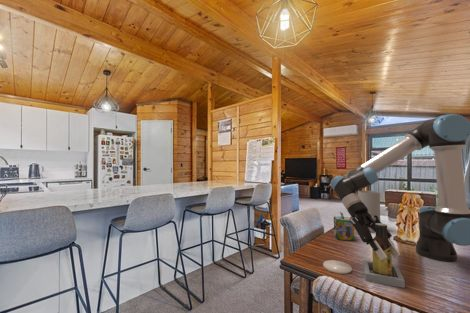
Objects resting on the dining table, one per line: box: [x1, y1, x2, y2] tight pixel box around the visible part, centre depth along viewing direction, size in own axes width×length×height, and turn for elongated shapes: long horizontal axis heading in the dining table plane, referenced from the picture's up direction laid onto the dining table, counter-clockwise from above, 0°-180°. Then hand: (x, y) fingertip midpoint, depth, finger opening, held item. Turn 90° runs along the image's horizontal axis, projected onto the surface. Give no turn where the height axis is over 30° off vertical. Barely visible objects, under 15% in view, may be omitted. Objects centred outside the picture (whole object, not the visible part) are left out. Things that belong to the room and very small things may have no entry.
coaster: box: [322, 259, 353, 275], centre depth 96 cm, size 11×11×1 cm
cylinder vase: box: [357, 190, 381, 233], centre depth 151 cm, size 12×12×25 cm
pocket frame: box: [362, 259, 406, 289], centre depth 89 cm, size 12×13×2 cm
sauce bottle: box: [371, 222, 393, 277], centre depth 90 cm, size 6×6×20 cm
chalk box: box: [333, 211, 355, 241], centre depth 135 cm, size 9×9×15 cm
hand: (390, 257), depth 86 cm, fingers closed on sauce bottle, 6 cm apart
